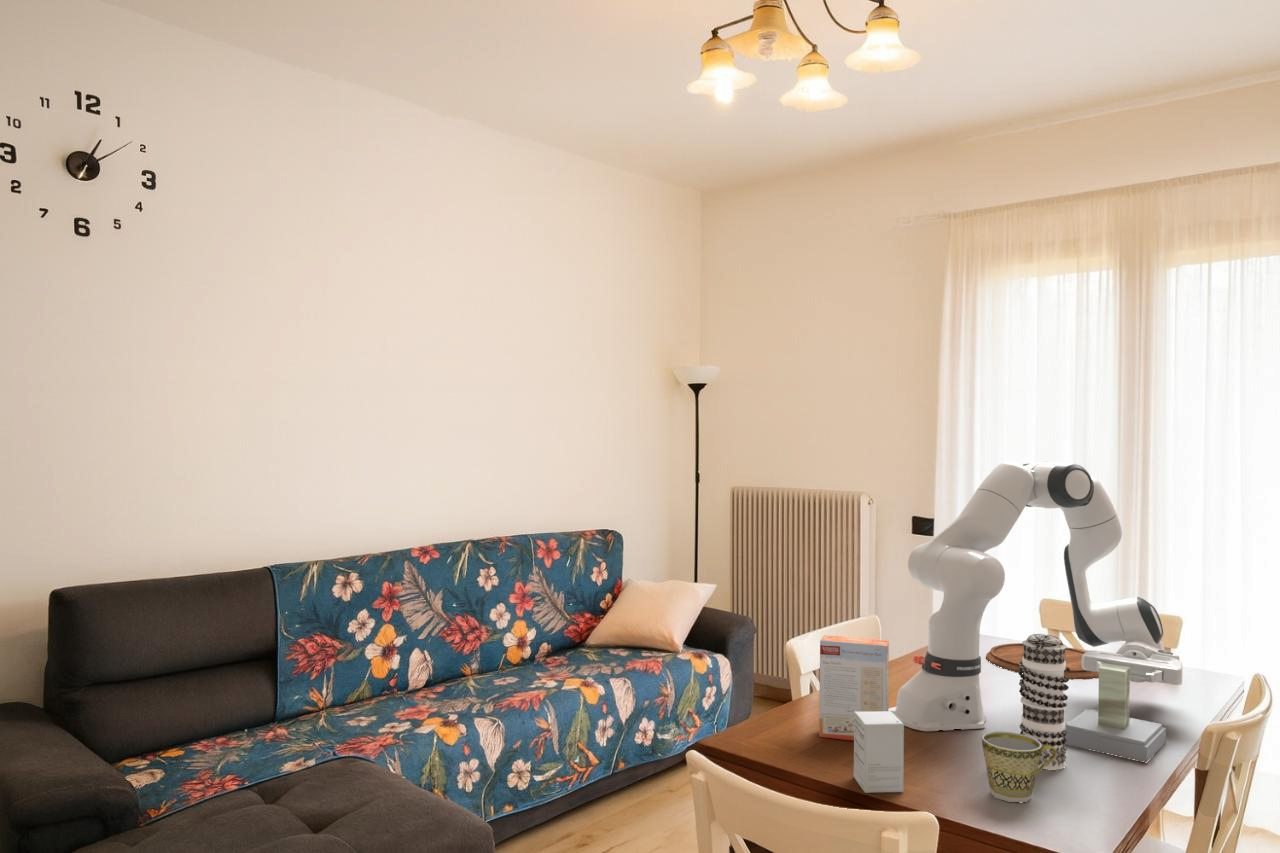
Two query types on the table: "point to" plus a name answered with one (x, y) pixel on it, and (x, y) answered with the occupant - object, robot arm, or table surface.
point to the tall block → (1114, 696)
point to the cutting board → (1013, 654)
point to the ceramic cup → (1012, 764)
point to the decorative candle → (1044, 695)
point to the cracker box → (851, 682)
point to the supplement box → (878, 751)
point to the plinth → (1116, 736)
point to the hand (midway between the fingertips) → (1125, 674)
